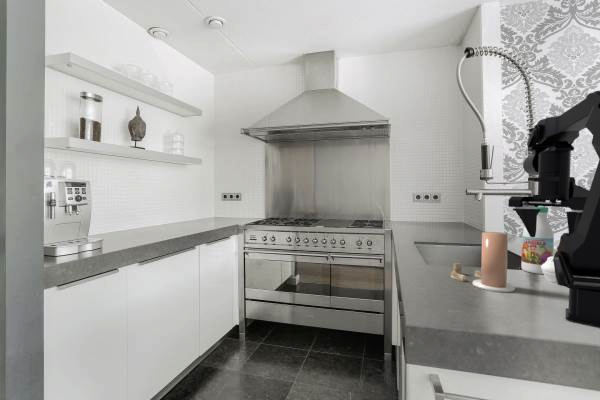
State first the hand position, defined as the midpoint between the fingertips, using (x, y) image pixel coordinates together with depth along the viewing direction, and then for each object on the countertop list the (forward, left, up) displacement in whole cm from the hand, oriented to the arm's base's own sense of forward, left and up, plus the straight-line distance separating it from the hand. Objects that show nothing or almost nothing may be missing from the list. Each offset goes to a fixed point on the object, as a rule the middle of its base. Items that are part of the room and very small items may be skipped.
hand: (551, 239), depth 71 cm
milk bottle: (+26, +4, -13) cm, 29 cm away
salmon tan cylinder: (-2, +11, -12) cm, 17 cm away
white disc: (-2, +11, -13) cm, 17 cm away
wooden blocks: (+3, +19, -13) cm, 23 cm away
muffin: (+16, 0, -13) cm, 21 cm away
